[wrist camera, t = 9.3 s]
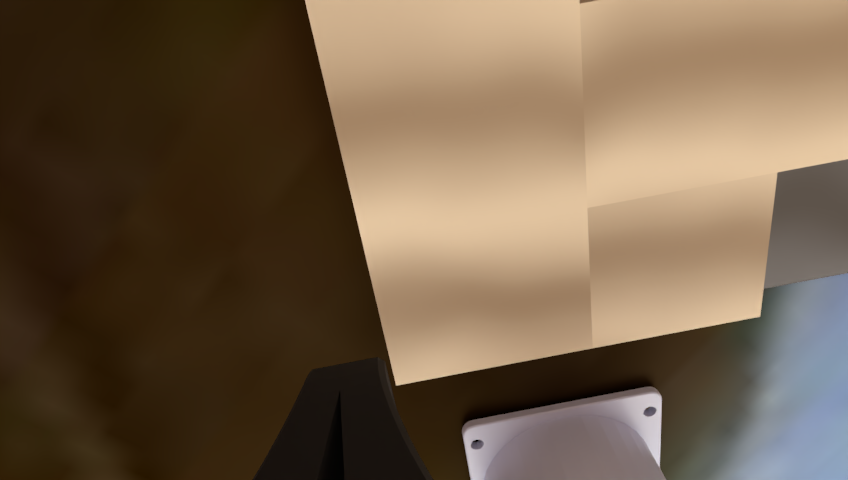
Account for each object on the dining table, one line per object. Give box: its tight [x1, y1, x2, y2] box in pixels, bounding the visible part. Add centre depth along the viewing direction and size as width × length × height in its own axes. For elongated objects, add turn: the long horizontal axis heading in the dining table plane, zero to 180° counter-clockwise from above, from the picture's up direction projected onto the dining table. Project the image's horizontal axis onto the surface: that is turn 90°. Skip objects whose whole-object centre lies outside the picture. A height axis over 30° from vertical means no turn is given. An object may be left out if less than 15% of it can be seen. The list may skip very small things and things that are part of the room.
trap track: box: [305, 0, 848, 386], centre depth 18 cm, size 17×26×2 cm, turn 99°
